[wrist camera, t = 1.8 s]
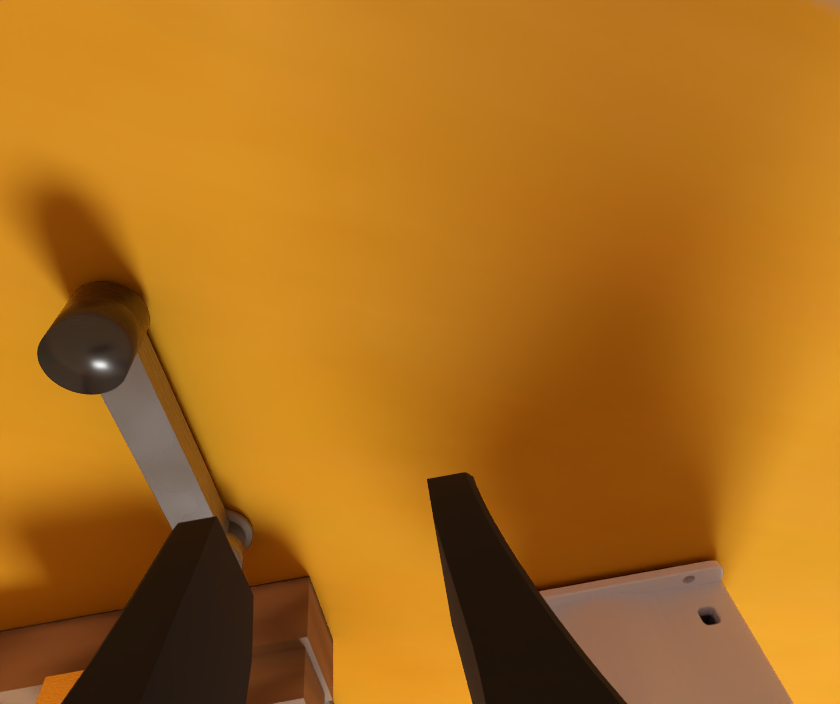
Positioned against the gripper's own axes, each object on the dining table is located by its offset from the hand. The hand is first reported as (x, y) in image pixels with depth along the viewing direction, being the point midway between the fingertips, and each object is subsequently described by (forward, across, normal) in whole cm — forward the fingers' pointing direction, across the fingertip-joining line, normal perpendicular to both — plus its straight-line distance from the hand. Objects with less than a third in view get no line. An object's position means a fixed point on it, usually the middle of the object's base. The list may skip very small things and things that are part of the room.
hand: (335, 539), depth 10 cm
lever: (+9, +6, +4) cm, 11 cm away
